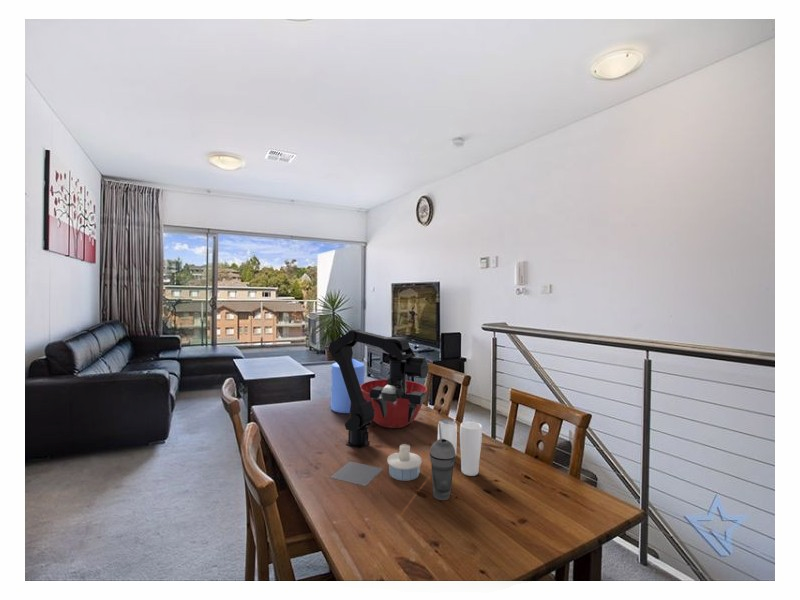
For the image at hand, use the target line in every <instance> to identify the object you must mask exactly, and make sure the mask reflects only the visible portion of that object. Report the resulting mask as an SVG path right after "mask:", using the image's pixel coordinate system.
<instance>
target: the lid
mask: <svg viewBox="0 0 800 600" xmlns="http://www.w3.org/2000/svg"><path fill="white" fill-rule="evenodd" d="M386 463H387V464H388V466H389V465H390V466H391V467H394V468H397V469H403V470H408V469H414V468H417V467H419V466H420V467H421V465H422V458H421V457H420V456H419V455H418V454H416V453H414V452H411V446H410V444H406V443H402V444H400V445H399V452H394V453H391V454H389V455H388V457H387V461H386Z"/></svg>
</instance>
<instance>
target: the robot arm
mask: <svg viewBox="0 0 800 600" xmlns="http://www.w3.org/2000/svg"><path fill="white" fill-rule="evenodd" d="M357 343H361V344H364V345H368V346H371V347H375V348H379V349H381V350H383V352H385V353H386V354H387V356H385V357H384V359H383V360H384V361H386V362H389V373H388V375H389V376H388V377H389V378H387V379H388V380H387V385H386V386H385V387H378V386H377V387H375V388H373V389H371V390H370V398H373V400H375V401H376V402H377V403H378V404H379V407H380V409H381V412H382V415H383V418H386V411H387V401H391V402H395V401H396V400H397V398H402V399H409V402H410V403H409V404H408V406H409V413H408V422H410V421H411V419H412V416H413V414H414V412H415V409H416V407H417V406H418V405H419V404H422V405H423V403H425V401H426V394H425V393H424V392H417V391H414V392H413V393H411V394H408V393H406V392H407V388H406V381H408V377H410V378H418V379H426V378H427V377H428V374H429V366H428V362H427V358H426V357H423V356H422V357H420V356H419V357H418V356H416V354H415V352H414V351H413V349H412V348H411V346H410V342H409V341H408V339H407V338H406V337H404V336H384V335H381V334H380V335H379V334H377V333H373V332H372V333H371V332H369V331H364V330H361V329H359V328H357V329H351V330H348V331H347V332H346V333H345V334H343V335H342V336H339V337H338V338H337V339H336V340H331V342H330V343H329V344H328V345H329V346H328V351H329V354H330V356H331V358H332V360H333V361H334V363H337V364H338V365H339V367H340V370H341V373H342V376H343V379H344V383H345V386H346V389H347V392H348V395H349V398H350V401H351V407H350V413H349V415H350V418H349V419H348V420H346V422H345V423H344V427H345V430H346V431H348V434H347V435H348V436H347V437H348V438H347V441H348V442H347V443H345V446H348V447H353V448H357V449H363V448H364V447H366V446H367V445H369V444H370V440H369V438H370V437H369V436H370V435H369V430H368V429H369V426H370V425H371V423H372V421H373V418H374V412H375V410H374V409H373V406H372V402H371V401H369V402H367V401H366V400H365V399H364V397H363V394H362V391H361V388H360V385H359V382H358V379H357V375H356V372H355V369H354V366H353V363H352V358H353V355H354V353H353V347H354V346H356V345H357Z"/></svg>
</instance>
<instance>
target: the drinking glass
mask: <svg viewBox="0 0 800 600" xmlns="http://www.w3.org/2000/svg"><path fill="white" fill-rule="evenodd" d="M459 427H460V428H459V445H460V446H459V449H460V450H459V451H460V470H461V473H462V474H463V475H465V476H468V477H474V476H477V475H478V474H479V471H480V470H479V469H480V467H479V466H480V457H481V452H482V451H481V449H482V443H483V442H482V439H483V426H482V424H481V423H479V422H475V421H463V422H461V423H460V425H459Z"/></svg>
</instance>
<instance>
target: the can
mask: <svg viewBox="0 0 800 600" xmlns="http://www.w3.org/2000/svg"><path fill="white" fill-rule="evenodd" d="M439 423H440V424H441V437H442V439H446V440H448V441H450V442H451V443H452V445H453V446H454V449H455V454H456V455H457V446H458V444H457V443H458V438H457V437H458V426H457V425H458V424H457V421H456V420H455V419H452V418H441V419H439V422H438V424H437V440H439V439H440V434H439Z"/></svg>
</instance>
